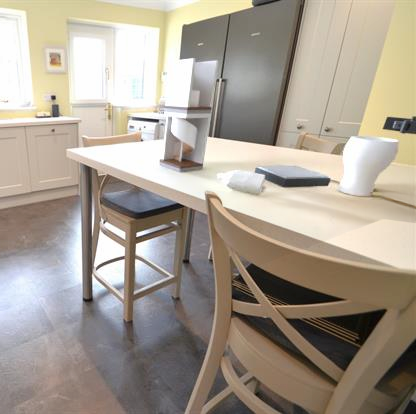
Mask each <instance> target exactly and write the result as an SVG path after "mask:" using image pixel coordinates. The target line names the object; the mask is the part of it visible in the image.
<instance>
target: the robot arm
mask: <svg viewBox="0 0 416 414" xmlns="http://www.w3.org/2000/svg"><path fill="white" fill-rule="evenodd" d="M382 130H387V131H391V132H392V131H393V132H399V133H400V134H403V135H404V134H405V135H406V134H409V135H416V116H415V115H412V116H411V118H408V117H397V116H396V117H395V116H386V119H385V122H384V124H383V127H382Z"/></svg>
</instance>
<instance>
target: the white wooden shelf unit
mask: <svg viewBox="0 0 416 414" xmlns="http://www.w3.org/2000/svg"><path fill="white" fill-rule="evenodd" d="M219 62H220V60H217V59H216V60H207V61H196V58H195V57H192V58H184V59H176V60H169V61H168V64H167V75H166V76H167V77H166V88H165V99H164V110H163V116H164V117H165V127H164V137H163V138H164V139H163V149H162V158H161V159H159V164H158V165H159V166H161V167H163V168H167V169H170V170H172V171H175V172H178V173H183V172H191V171H198V170H203V169H204V161H205V154H206V149H207V141H208V136H209V129H210V122H211V116H212V110H213V109H212V108H213V103H214V95H215V89H216V82H217V77H218V76H217V75H218V69H219Z"/></svg>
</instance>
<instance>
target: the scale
mask: <svg viewBox="0 0 416 414" xmlns="http://www.w3.org/2000/svg"><path fill="white" fill-rule="evenodd" d="M254 173H257V174H263V175H265V180H266V181H267V182H270V183H273V184H275V185H277V186H280V187H282V188H304V187H305V188H307V187H328V186H329V185H330V182H331V178H330V177H329V175H326V174H323V173H320V172H317V171H314V170H311V169H307V168H304V167H302V166H299V165H258V166H257V167H255V168H254Z"/></svg>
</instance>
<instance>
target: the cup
mask: <svg viewBox="0 0 416 414" xmlns="http://www.w3.org/2000/svg"><path fill="white" fill-rule="evenodd" d="M399 144H400V141H399V140H398V139H394V138H387V137H379V136H368V135H367V136H366V135H365V136H364V135H352V136H351V137H350V138H349V140H348V141H347V143H346V144H345V146H344V150H343V153H342V162H343V165H344V174H343V178H342V180H341V181H340V183H339V184H338V187H337V191H339V192H340V193H343V194H346V195H352V196H356V197H372V196H373V194H374V189H375V183H376V181H377V179H378V177H379V176H380V175H381V173H383V172H384V171H385V170H387V169H388V168H389V167H390V166H391V164H392V163H393V162H394V161H395V159H396V157H397V155H398V152H399Z"/></svg>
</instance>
